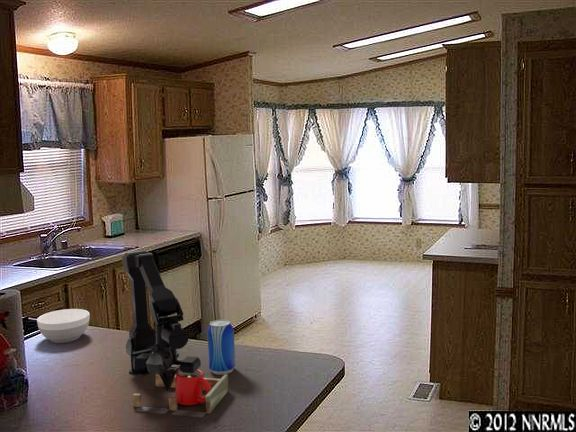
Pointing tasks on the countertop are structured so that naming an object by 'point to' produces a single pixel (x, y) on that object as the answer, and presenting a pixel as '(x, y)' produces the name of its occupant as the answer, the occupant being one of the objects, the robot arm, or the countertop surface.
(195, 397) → the mug
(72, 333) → the bowl
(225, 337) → the beer can
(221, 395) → the wooden box
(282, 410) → the countertop surface
